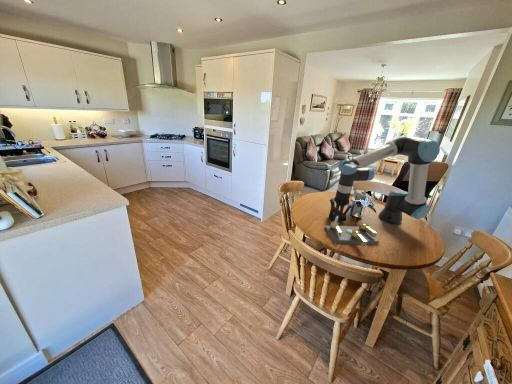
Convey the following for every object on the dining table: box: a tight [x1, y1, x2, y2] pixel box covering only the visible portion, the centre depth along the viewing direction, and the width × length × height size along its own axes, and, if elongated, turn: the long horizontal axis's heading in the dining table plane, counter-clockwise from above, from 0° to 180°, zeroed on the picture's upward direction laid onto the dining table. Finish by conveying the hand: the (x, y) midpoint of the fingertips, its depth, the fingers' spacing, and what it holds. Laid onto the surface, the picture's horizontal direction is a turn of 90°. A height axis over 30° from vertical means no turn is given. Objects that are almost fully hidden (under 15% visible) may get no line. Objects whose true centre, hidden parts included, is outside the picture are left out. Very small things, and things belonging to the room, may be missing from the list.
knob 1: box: [329, 221, 342, 236], centre depth 131 cm, size 12×5×4 cm, turn 178°
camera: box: [328, 206, 348, 223], centre depth 147 cm, size 14×11×10 cm
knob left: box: [351, 229, 368, 247], centre depth 124 cm, size 12×5×4 cm, turn 3°
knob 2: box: [358, 222, 378, 238], centre depth 133 cm, size 12×5×4 cm, turn 12°
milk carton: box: [349, 189, 367, 217], centre depth 157 cm, size 7×7×20 cm
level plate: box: [324, 225, 380, 245], centre depth 133 cm, size 28×16×3 cm, turn 93°
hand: (335, 226), depth 128 cm, fingers closed
